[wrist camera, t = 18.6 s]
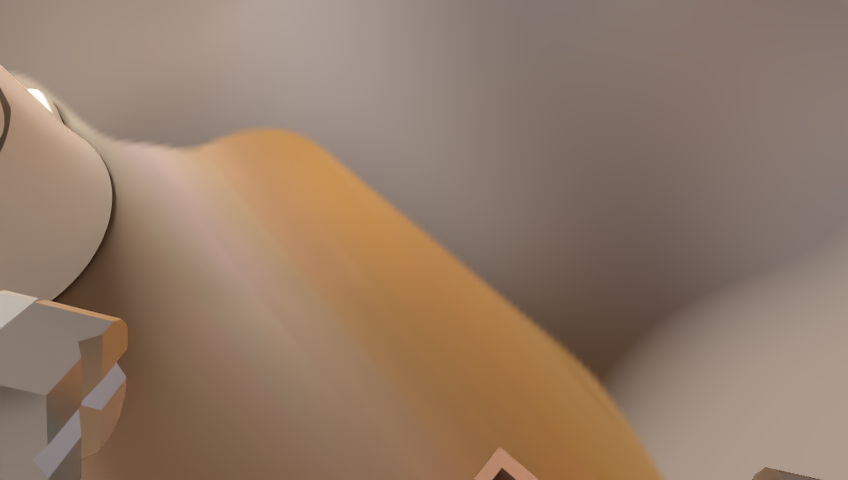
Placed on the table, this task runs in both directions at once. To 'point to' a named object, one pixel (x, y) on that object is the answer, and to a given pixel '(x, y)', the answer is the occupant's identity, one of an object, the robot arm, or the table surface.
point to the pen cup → (503, 468)
